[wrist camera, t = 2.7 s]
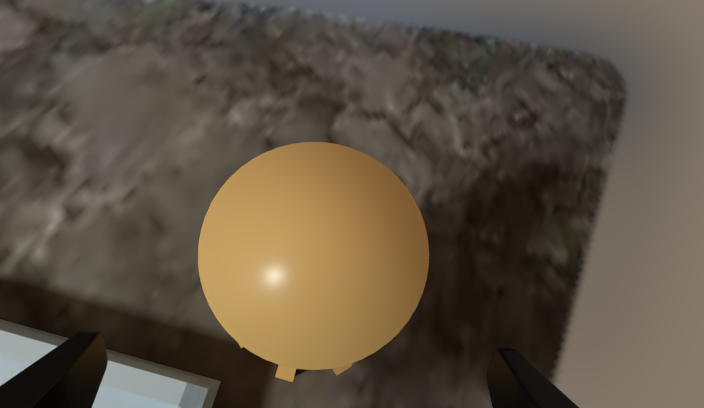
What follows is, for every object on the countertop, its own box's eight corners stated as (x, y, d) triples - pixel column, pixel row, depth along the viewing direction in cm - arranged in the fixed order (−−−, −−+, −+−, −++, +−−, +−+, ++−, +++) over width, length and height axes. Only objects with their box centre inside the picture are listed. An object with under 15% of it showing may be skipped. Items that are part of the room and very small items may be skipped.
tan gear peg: (355, 394, 18) (470, 525, 6) (214, 355, 18) (24, 403, 6) (389, 256, 20) (530, 133, 8) (262, 219, 20) (199, 32, 8)
